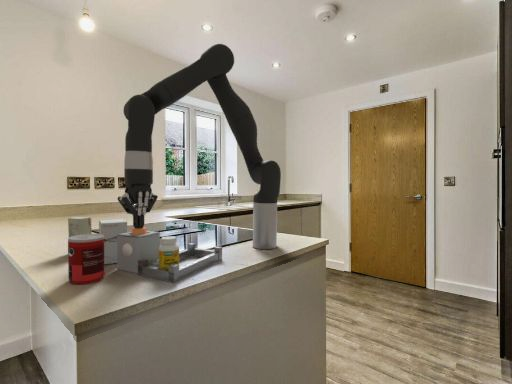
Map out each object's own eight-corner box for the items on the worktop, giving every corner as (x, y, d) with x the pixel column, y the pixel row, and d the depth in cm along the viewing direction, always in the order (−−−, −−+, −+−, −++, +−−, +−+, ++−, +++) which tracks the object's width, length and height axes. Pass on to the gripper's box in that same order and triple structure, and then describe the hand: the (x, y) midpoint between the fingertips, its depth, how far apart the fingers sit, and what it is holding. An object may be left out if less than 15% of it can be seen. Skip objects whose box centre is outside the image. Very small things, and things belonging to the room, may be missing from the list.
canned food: (78, 274, 75) (78, 233, 74) (110, 274, 75) (109, 233, 75) (61, 285, 67) (60, 239, 66) (96, 284, 68) (95, 239, 67)
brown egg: (139, 247, 84) (139, 226, 83) (149, 249, 82) (149, 227, 82) (128, 250, 80) (128, 228, 80) (138, 252, 78) (138, 229, 78)
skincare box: (92, 252, 96) (92, 217, 95) (80, 256, 92) (79, 219, 91) (80, 250, 98) (80, 216, 98) (68, 253, 94) (67, 217, 94)
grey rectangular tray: (191, 254, 96) (191, 242, 96) (222, 259, 91) (222, 247, 91) (137, 275, 75) (137, 260, 75) (174, 282, 70) (174, 266, 70)
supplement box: (100, 265, 82) (99, 223, 81) (98, 259, 88) (98, 219, 88) (127, 262, 86) (127, 221, 85) (124, 256, 92) (124, 218, 92)
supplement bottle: (175, 267, 81) (175, 234, 80) (181, 273, 76) (182, 238, 76) (156, 271, 78) (156, 236, 77) (161, 276, 73) (161, 240, 73)
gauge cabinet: (139, 261, 87) (139, 229, 86) (159, 265, 83) (159, 232, 83) (116, 269, 79) (116, 234, 79) (137, 273, 76) (137, 237, 75)
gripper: (129, 166, 72) (129, 233, 73) (165, 169, 84) (165, 225, 85) (109, 166, 75) (109, 230, 76) (146, 168, 88) (146, 223, 88)
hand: (138, 228), depth 81 cm, fingers closed
